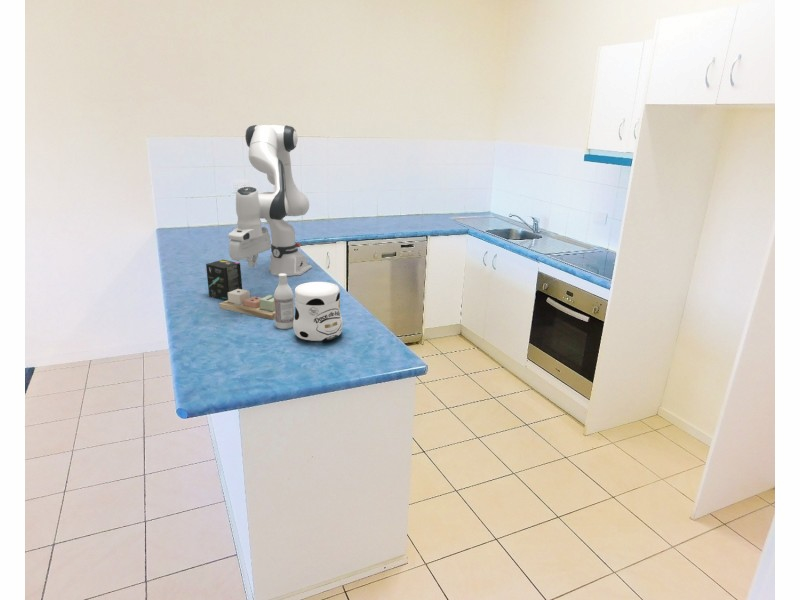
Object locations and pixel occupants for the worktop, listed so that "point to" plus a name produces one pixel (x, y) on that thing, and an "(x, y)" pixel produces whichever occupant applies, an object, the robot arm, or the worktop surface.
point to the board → (247, 310)
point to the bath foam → (283, 304)
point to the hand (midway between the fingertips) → (252, 265)
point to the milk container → (317, 312)
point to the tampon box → (223, 278)
